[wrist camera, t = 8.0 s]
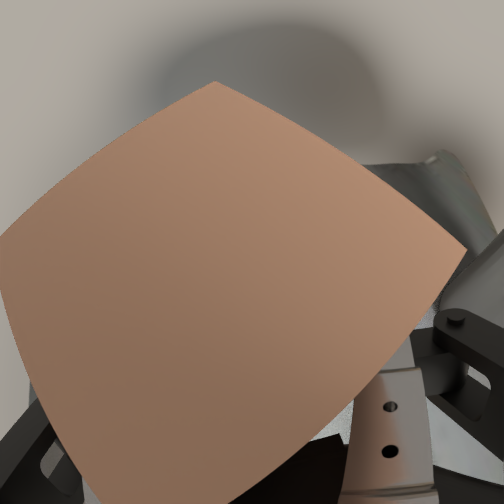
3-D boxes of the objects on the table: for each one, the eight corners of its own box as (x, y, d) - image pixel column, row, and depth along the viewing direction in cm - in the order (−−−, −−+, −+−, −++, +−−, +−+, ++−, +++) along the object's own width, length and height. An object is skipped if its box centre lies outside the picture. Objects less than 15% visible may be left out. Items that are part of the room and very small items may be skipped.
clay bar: (266, 337, 18) (215, 80, 4) (313, 385, 17) (467, 249, 3) (215, 381, 17) (-9, 245, 3) (261, 431, 15) (142, 550, 1)
